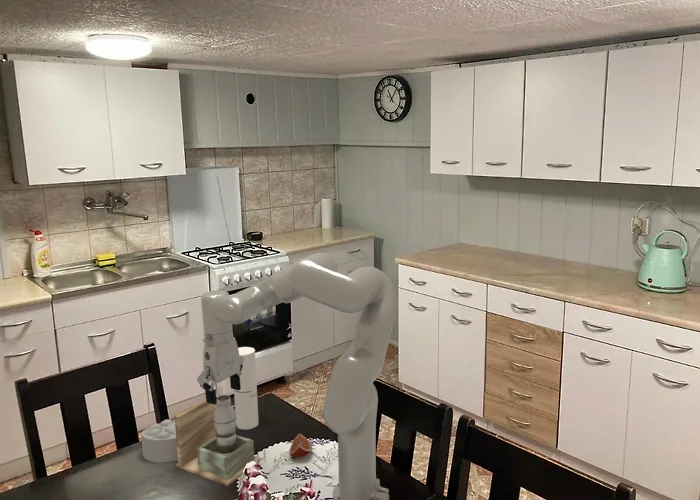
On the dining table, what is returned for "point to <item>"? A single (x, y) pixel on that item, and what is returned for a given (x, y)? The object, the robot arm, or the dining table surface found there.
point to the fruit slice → (300, 447)
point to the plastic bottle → (224, 426)
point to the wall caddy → (208, 446)
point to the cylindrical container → (247, 392)
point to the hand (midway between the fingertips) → (223, 395)
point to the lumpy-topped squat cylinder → (160, 442)
